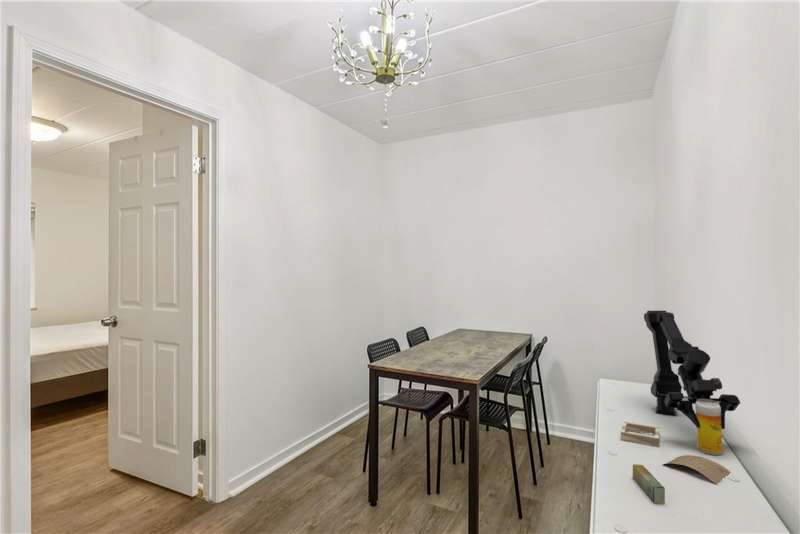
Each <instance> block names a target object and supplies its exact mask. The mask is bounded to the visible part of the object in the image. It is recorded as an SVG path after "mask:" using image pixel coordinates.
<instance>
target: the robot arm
mask: <svg viewBox="0 0 800 534" xmlns="http://www.w3.org/2000/svg"><path fill="white" fill-rule="evenodd" d="M643 320H644V322H645V325H646V327H647V329H648V330H649V331H650V332H651V333H652V340H653V341H652V342H653V347H654V355H655V361H656V368H657V369H656V372H655V373H654V376H653V381H652V384H651V386H650V394H651V395H652V396H653V397H654V398H656V406H655V414H661V415H669V416H677V411H678V412H679V411H680V412H681V413H682V414H683V415H684V416H685V417H686V418H688V420H690V421H691V423H692V424H693V425H694V426H695V428H696V427H697V428H699V427H700V424H699V421H698V419H697V416H696V411H695V410H694V407H693V405H695V403H696V402H697V400H698V399H708V400H713V401H716V402H718V403H719V405H720V407H721V426H722V430H725V428H726V418H725V417H726V412H733V411H736V409H737V408H738V407H739V405H740V404H741V400H740V399H739V397H738V396H737V395H735V394H725V393H723V394H720V396H719V397H718V398H717V397H716V398H714V397H712V396H714V392H717V391H718V390H722V389H723V383H722V381H721V380H720V378H719V377H712V378H709V379H704V378H703V376H702V374H701V373H703V372H705V370H706V368H707V366H708V364H709V362H710V361H711V357H710V355H709V354H708V353H707V352H706V351H704V350H703V349H700V348H699V347H698V346H693V345H692V344H691V343H690V342H688V341H686V340H685V339H684V336H683V335H682V333H681V330H680V328H679V326H678V324H677V322H676V320H675V315H674V313H673V312H667V311H666V310H647V311H646V313H644V314H643ZM672 364H675V365H679V366H678V368H677V374H676V373H675V372H674V371H673V368H672ZM679 376H680V378H679ZM680 379H681V382H682V385H683V386H682V385H681V382H680ZM682 388H683V389H682ZM682 390H683V391H684V392H686V394H687V396H686V395H684V393H682Z"/></svg>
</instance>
